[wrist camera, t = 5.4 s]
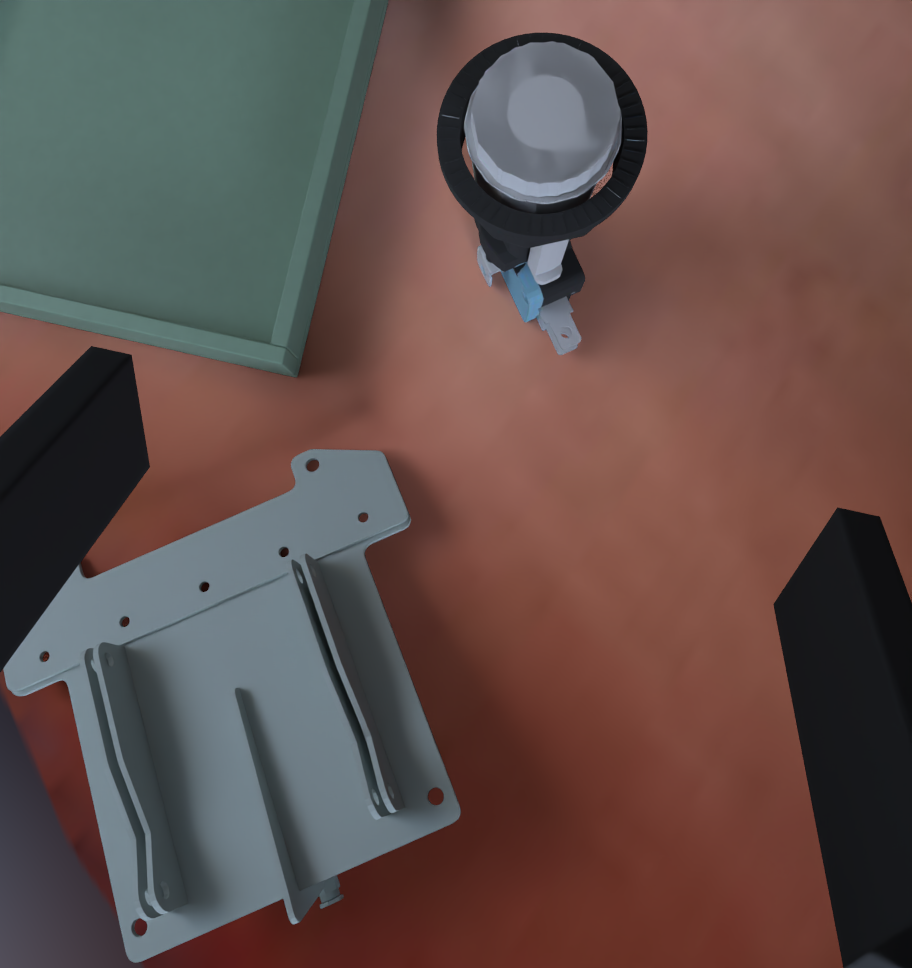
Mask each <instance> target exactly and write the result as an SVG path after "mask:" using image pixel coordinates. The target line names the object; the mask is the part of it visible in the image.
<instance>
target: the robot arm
mask: <svg viewBox="0 0 912 968" xmlns="http://www.w3.org/2000/svg"><path fill="white" fill-rule="evenodd" d="M149 467H150V465H149V459H148V453H147V447H146V441H145V434H144V428H143V422H142V416H141V410H140V404H139V398H138V392H137V385H136V379H135V373H134V367H133V361H132V355H130V354H125V353H121V352H116V351H111V350H107V349H102V348H97V347H93V346H91V347H90V348H89V349H88V350H87V351H86V352H85V353H84V354H83V355H82V356H81V357H80V358H79V359H78V360H77V361H76V362H75V363H74V364H73V365H72V366H71V367H70V368H69V369H68V370H67V371H66V372H65V373H64V374H63V375H62V376H61V377H60V378H59V379H58V380H57V381H56V382H55V383H54V384H53V385H52V386H51V387H50V388H49V389H48V390H47V391H46V392H45V393H44V394H43V395H42V396H41V397H40V398H39V399H38V400H37V401H36V402H35V403H34V404H33V405H32V406H31V407H30V408H29V409H28V410H27V411H26V412H25V413H24V414H23V415H22V416H21V417H20V418H19V419H18V420H17V421H16V422H15V423H14V424H13V425H12V426H11V427H10V428H9V429H8V430H7V431H6V432H5V433H4V434H3V435H2V436H1V437H0V672H1V671H2V669H3V668H4V667H5V665H6V664H7V663H8V661H9V660H10V658H11V657H12V656H13V654H14V653H15V652H16V650H17V649H18V647H19V646H20V645H21V643H22V642H23V641H24V639H25V638H26V636H27V635H28V634H29V632H30V631H31V630H32V628H33V627H34V625H35V624H36V623H37V621H38V620H39V619H40V617H41V616H42V614H43V613H44V612H45V610H46V609H47V608H48V606H49V605H50V603H51V602H52V601H53V599H54V598H55V597H56V595H57V594H58V592H59V591H60V590H61V588H62V587H63V586H64V584H65V583H66V581H67V580H68V579H69V577H70V576H71V575H72V573H73V572H74V570H75V569H76V568H77V566H78V565H79V564H80V562H81V561H82V559H83V558H84V557H85V555H86V554H87V553H88V551H89V550H90V548H91V547H92V546H93V544H94V543H95V542H96V540H97V539H98V537H99V536H100V535H101V533H102V532H103V531H104V529H105V528H106V526H107V525H108V524H109V522H110V521H111V520H112V518H113V517H114V515H115V514H116V513H117V511H118V510H119V509H120V507H121V506H122V504H123V503H124V502H125V500H126V499H127V498H128V496H129V495H130V493H131V492H132V491H133V489H134V488H135V487H136V485H137V484H138V483H139V481H140V480H141V478H142V477H143V476H144V474H145V473H146V472H147V470H148V469H149ZM774 609H775V614H776V620H777V625H778V630H779V635H780V640H781V646H782V651H783V656H784V661H785V666H786V672H787V677H788V682H789V687H790V692H791V697H792V703H793V708H794V713H795V718H796V723H797V729H798V734H799V739H800V744H801V749H802V755H803V760H804V765H805V770H806V775H807V780H808V786H809V791H810V796H811V801H812V806H813V812H814V817H815V822H816V827H817V832H818V838H819V843H820V848H821V853H822V858H823V863H824V869H825V874H826V879H827V884H828V889H829V895H830V900H831V905H832V910H833V915H834V921H835V926H836V931H837V936H838V941H839V946H840V952H841V957H842V962H843V967H844V968H912V603H911V600H910V597H909V595H908V592H907V589H906V586H905V584H904V581H903V578H902V576H901V573H900V570H899V567H898V565H897V562H896V559H895V557H894V554H893V551H892V548H891V546H890V543H889V540H888V538H887V535H886V532H885V530H884V527H883V524H882V521H881V519H880V517H879V516H874V515H869V514H865V513H860V512H856V511H851V510H846V509H842V508H837V509H836V511H835V512H834V514H833V515H832V517H831V518H830V520H829V521H828V523H827V524H826V526H825V527H824V529H823V530H822V532H821V533H820V535H819V536H818V538H817V539H816V541H815V542H814V544H813V545H812V547H811V548H810V550H809V551H808V553H807V554H806V556H805V557H804V559H803V561H802V562H801V564H800V565H799V567H798V568H797V570H796V571H795V573H794V574H793V576H792V577H791V579H790V580H789V582H788V583H787V585H786V586H785V588H784V589H783V591H782V592H781V594H780V595H779V597H778V598H777V600H776V601H775V603H774Z"/></svg>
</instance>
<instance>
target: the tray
mask: <svg viewBox="0 0 912 968" xmlns="http://www.w3.org/2000/svg"><path fill="white" fill-rule="evenodd" d="M388 1H389V0H0V312H5V313H9V314H14V315H18V316H23V317H27V318H32V319H36V320H41V321H45V322H50V323H54V324H59V325H63V326H68V327H72V328H77V329H81V330H85V331H90V332H94V333H99V334H103V335H108V336H112V337H117V338H121V339H126V340H130V341H135V342H139V343H144V344H148V345H153V346H157V347H162V348H166V349H171V350H175V351H179V352H184V353H188V354H193V355H197V356H202V357H206V358H211V359H215V360H220V361H224V362H229V363H233V364H238V365H242V366H247V367H251V368H256V369H260V370H264V371H269V372H273V373H278V374H282V375H287V376H291V377H297V376H298V373H299V369H300V364H301V360H302V356H303V352H304V348H305V344H306V340H307V336H308V331H309V327H310V323H311V319H312V315H313V311H314V307H315V303H316V298H317V294H318V290H319V286H320V282H321V278H322V274H323V269H324V265H325V261H326V257H327V253H328V249H329V245H330V241H331V236H332V232H333V228H334V224H335V220H336V216H337V212H338V208H339V203H340V199H341V195H342V191H343V187H344V183H345V179H346V175H347V170H348V166H349V162H350V158H351V154H352V150H353V146H354V142H355V137H356V133H357V129H358V125H359V121H360V117H361V113H362V109H363V104H364V100H365V96H366V92H367V88H368V84H369V80H370V75H371V71H372V67H373V63H374V59H375V55H376V51H377V47H378V42H379V38H380V34H381V30H382V26H383V22H384V18H385V14H386V9H387V5H388Z"/></svg>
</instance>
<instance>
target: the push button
mask: <svg viewBox="0 0 912 968" xmlns="http://www.w3.org/2000/svg"><path fill="white" fill-rule="evenodd" d="M465 137H466V143H467V149H468V153H469V156H470V158H471V160H472V165H473V172H474V178H473V177H472V175H471V174H470V172H469V170H468V168H467V166H466V164H465V161H464V158H463V155H462V146H463V143H464V139H465ZM437 147H438V155H439V161H440V165H441V169H442V172H443V175H444V178H445V180H446V182H447V184H448V186H449V188H450V190H451V192H452V193H453V195H454V197H455V198H456V199H457V201H458V202H459V203H460V204H461V206H462V207H463V208H464V209H465V210H466V211H467V212H468V213H469V214H470V215H471V216H472V217H474V219H475V223H476V226H477V228H478V230H479V238H480V243H481V246H479V247H478V251H477V261H478V264H479V267H480V269H481V271H482V273H483V276H484V278H485V280H486V282H487V284H488V286H489V287H490V286H491V284H492V276H491V275H493V274H494V273H497V272H499V271H500V272H501V274H502V276H503V278H504V280H505V282H506V285H507V287H508V289H509V291H510V293H511V295H512V298H513V300H514V302H515V304H516V306H517V308H518V310H519V313H520V315H521V317H522V319H523V321H524V322H528V321H530V320H532V319H534V318H537V320H538V323H539V325H540V327H541V329H542V331H544V330H547V332H548V334H549V336H550V338H551V341H552V343H553V345H554V347H555V349H556V351H557V353H558V354H559V355H563V354H565V353H567V352H569V351H572V350H574V349H576V348H577V346H578V344H577V343H579V342H580V341H581V339H582V338H581V336H580V334H579V332H578V330H577V328H576V325H575V323H574V321H573V319H572V317H571V315H570V313H571V312H573V309H572V307H571V305H570V303H569V299H570V296H571V295H573V294H575V293H577V292H580V291H581V289H582V286H583V284H584V282H585V275H584V272H583V270H582V268H581V266H580V264H579V261H578V259H577V257H576V255H575V253H574V251H573V249H572V246H571V242H570V239H573V238H577V237H582V236H584V235H586V234H587V233H588V232H589V231H591V230H592V229H593V228H594V227H595V226H597V225H598V224H600V223H601V222H603V221H604V220H605V219H607V218H608V217H609V216H610V215H611V214H612V213H613V212H614V211H615V210H616V209H617V208H618V207H619V206H620V205H621V204H622V203H623V201H624V200H625V199H626V197H627V196H628V194H629V193H630V191H631V190H632V188H633V186H634V184H635V182H636V180H637V177H638V175H639V173H640V170H641V168H642V165H643V162H644V158H645V154H646V147H647V121H646V115H645V111H644V107H643V104H642V101H641V98H640V96H639V94H638V91H637V89H636V87H635V86H634V84H633V82H632V80H631V79H630V78H629V76H628V75H627V74H626V72H625V71H624V70H623V69H622V68H621V66H620V65H619V64H618V63H617V62H616V61H615V60H613V59H612V58H611V57H610V56H609V55H607V54H606V53H605V52H603V51H602V50H600V49H599V48H597V47H595V46H593V45H592V44H590V43H587V42H585V41H583V40H580V39H577V38H574V37H571V36H567V35H562V34H555V33H530V34H523V35H518V36H514V37H511V38H508V39H505V40H502V41H500V42H498V43H495V44H493V45H491V46H490V47H488V48H486V49H484V50H483V51H482V52H480V53H479V54H477V55H476V56H475V57H474V58H473V59H471V60H470V61H469V62H468V63H467V64H466V65H465V66H464V67H463V68H462V69H461V71H460V72H459V73H458V74H457V76H456V77H455V79H454V80H453V81H452V83H451V85H450V87H449V88H448V90H447V93H446V95H445V97H444V99H443V102H442V105H441V109H440V113H439V118H438V125H437ZM612 163H613V172H612V177H611V178H610V180H609V181H608V182H607V183H606V185H605V186H604V187H603V188H602V189H601V190H600V191H599V192H598V193H597V194H596V195H594V196H593V197H592V198H590V197H591V195H592V193H593V190H594V188H595V186H596V183H597V182H598V181H600V180H601V179H602V178H603V177H604V176H605V175H606V173H607V172H608V171H609V169H610V167H611V165H612ZM474 179H475V180H474ZM561 334H566V335H567V336H568V338H564V337H562V336H561Z"/></svg>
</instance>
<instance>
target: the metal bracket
mask: <svg viewBox="0 0 912 968" xmlns="http://www.w3.org/2000/svg"><path fill="white" fill-rule="evenodd" d="M311 460H317V461H319V465H320V466H319V468H318V469H317V470H316V471H314V472H310V471H308V470H307V465H308V463H309V462H310V461H311ZM291 468H292V471H293V474H294V477H295V481H296V484H295V486H294V488H293V489H292V490H291V491H289V492H287V493H285V494H283V495H280V496H278V497H276V498H274V499H271V500H269V501H267V502H264V503H262V504H260V505H257V506H255V507H253V508H251V509H248V510H246V511H244V512H241V513H239V514H237V515H235V516H232V517H230V518H228V519H225V520H223V521H221V522H219V523H216V524H214V525H212V526H209V527H207V528H205V529H203V530H200V531H198V532H196V533H193V534H191V535H189V536H186V537H184V538H182V539H180V540H177V541H175V542H173V543H170V544H168V545H166V546H164V547H161V548H159V549H157V550H154V551H152V552H150V553H148V554H145V555H143V556H141V557H138V558H136V559H134V560H131V561H129V562H127V563H125V564H122V565H120V566H118V567H115V568H113V569H111V570H109V571H106V572H104V573H102V574H99V575H97V576H95V577H93V578H88V579H87V578H86V577H85V576H84V574H83V570H82V566H81V562H80V564H79V565H78V566H77V568H76V569H75V570H74V572H73V573H72V575H71V576H70V577H69V579H68V580H67V581H66V583H65V584H64V586H63V587H62V588H61V590H60V591H59V592H58V594H57V595H56V597H55V598H54V599H53V601H52V602H51V603H50V605H49V606H48V608H47V609H46V610H45V612H44V613H43V614H42V616H41V617H40V619H39V620H38V621H37V623H36V624H35V625H34V627H33V628H32V630H31V631H30V632H29V634H28V635H27V636H26V638H25V639H24V641H23V642H22V643H21V645H20V646H19V647H18V649H17V650H16V652H15V653H14V654H13V656H12V657H11V658H10V660H9V661H8V663H7V664H6V665H5V667H4V668H3V669H4V674H5V680H6V685H7V687H8V689H9V690H11V691H12V693H13V694H14V695H17V696H25V695H28V694H30V693H32V692H35V691H37V690H39V689H42V688H44V687H46V686H48V685H51V684H53V683H55V682H58V681H61V680H63V681H65V682H66V683H67V685H68V688H69V693H70V698H71V702H72V707H73V711H74V716H75V720H76V725H77V730H78V734H79V739H80V743H81V748H82V753H83V757H84V762H85V766H86V771H87V776H88V780H89V785H90V789H91V794H92V798H93V803H94V808H95V812H96V817H97V821H98V826H99V831H100V835H101V840H102V844H103V849H104V854H105V858H106V863H107V867H108V872H109V876H110V881H111V886H112V890H113V895H114V899H115V904H116V909H117V913H118V918H119V922H120V927H121V932H122V936H123V941H124V945H125V950H126V954H127V956H128V958H129V960H131V961H132V962H134V963H135V962H141V961H143V960H145V959H148V958H150V957H152V956H154V955H157V954H159V953H161V952H163V951H166V950H168V949H170V948H172V947H175V946H177V945H179V944H182V943H184V942H186V941H188V940H191V939H193V938H195V937H197V936H200V935H202V934H204V933H206V932H209V931H211V930H213V929H215V928H218V927H220V926H222V925H224V924H227V923H229V922H231V921H233V920H236V919H238V918H240V917H242V916H245V915H247V914H249V913H251V912H254V911H256V910H258V909H261V908H263V907H265V906H267V905H270V904H272V903H274V902H276V901H279V900H281V899H284V903H285V906H286V910H287V914H288V917H289V920H290V922H291V923H292V924H293V925H294V924H296V923H298V922H301V920H302V919H303V917H304V916H305V915H306V913H307V912H308V910H309V909H310V907H311V906H312V905H313V903H314V902H315V900H316V899H317V897H319V896H320V899H321V902H324V903H322V904H320V908H324V907H326V906H329V905H331V904H333V903H335V902H337V901H339V900H341V899H343V898H344V896H343V894H342V895H340V892H339V889H338V888H339V887H340V884H339V880H338V877H337V876H335V875H337V874H340V873H342V872H344V871H346V870H349V869H351V868H353V867H355V866H358V865H360V864H362V863H364V862H367V861H369V860H371V859H373V858H376V857H378V856H380V855H382V854H385V853H387V852H389V851H391V850H394V849H396V848H398V847H401V846H403V845H405V844H407V843H410V842H412V841H414V840H416V839H419V838H421V837H423V836H425V835H428V834H430V833H432V832H434V831H437V830H439V829H441V828H443V827H446V826H448V825H450V824H452V823H454V822H455V821H456V820H458V819H459V816H460V813H461V811H460V805H459V802H458V800H457V797H456V794H455V792H454V789H453V787H452V784H451V781H450V779H449V776H448V773H447V771H446V768H445V766H444V763H443V760H442V758H441V755H440V752H439V750H438V747H437V745H436V742H435V739H434V737H433V734H432V731H431V729H430V726H429V724H428V721H427V718H426V716H425V713H424V710H423V708H422V705H421V703H420V700H419V697H418V695H417V692H416V689H415V687H414V684H413V682H412V679H411V676H410V674H409V671H408V668H407V666H406V663H405V661H404V658H403V655H402V653H401V650H400V647H399V645H398V642H397V640H396V637H395V634H394V632H393V629H392V626H391V624H390V621H389V619H388V616H387V613H386V611H385V608H384V605H383V603H382V600H381V597H380V595H379V592H378V590H377V587H376V584H375V582H374V579H373V576H372V574H371V571H370V569H369V566H368V563H367V561H366V558H365V551H366V549H367V547H368V546H369V545H371V544H373V543H375V542H377V541H380V540H382V539H384V538H386V537H389V536H391V535H393V534H395V533H398V532H400V531H402V530H405V529H406V528H408V526H409V525H410V522H411V518H410V515H409V512H408V510H407V507H406V505H405V502H404V500H403V498H402V495H401V493H400V490H399V488H398V485H397V483H396V481H395V478H394V476H393V473H392V471H391V468H390V466H389V464H388V461H387V459H386V457H385V455H384V454H383V453H382V452H381V451H370V450H320V449H311V450H308V451H306V452H304V453H301V454H299V455H297V456H296V457H294V458H293V460H292V462H291ZM364 513H366V514H368V517H369V518H368V520H367V521H366V522H363V523H362V522H360V521H359V517H360V515H362V514H364ZM283 548H288V549H289V554H288V555H287V556H286V557H281V556H280V552H281V550H282V549H283ZM206 582H208V583H209V589H208V591H206V592H202V590H201V587H202V585H203V584H204V583H206ZM126 617H129V619H130V623H129V624H128V626H126V627H123V625H122V621H123V619H124V618H126ZM46 652H49V654H50V657H49V659H48V660H47V661H46V662H44V661H43V655H44V654H45V653H46ZM435 787H437V788H440V789H441V790H442V791H443V793H444V800H443V802H442V803H441V804H440V805H433V804H431V803H430V801H429V800H428V793H429V791H430V790H431V789H432V788H435ZM338 895H339V896H338ZM139 918H141V919H143V920H145V921H146V922H147V924H148V929H147V931H146V933H145V934H144V935H143V936H139V935H137V934H136V932H135V930H134V925H135V922H136V920H137V919H139Z"/></svg>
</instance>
